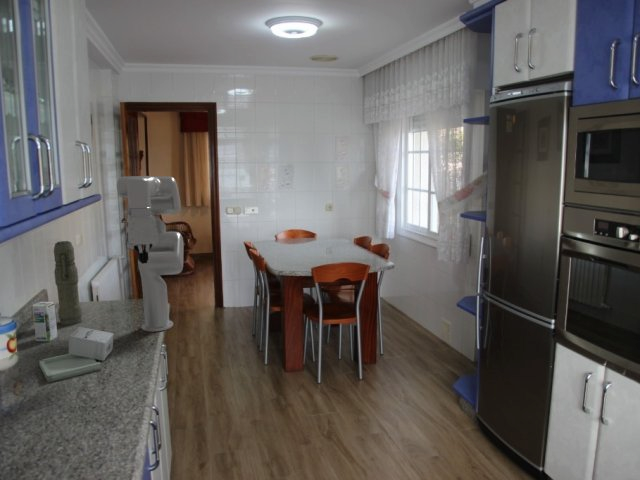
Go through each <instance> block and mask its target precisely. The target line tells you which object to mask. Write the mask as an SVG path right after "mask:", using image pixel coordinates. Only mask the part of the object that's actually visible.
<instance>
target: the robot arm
mask: <svg viewBox="0 0 640 480" xmlns="http://www.w3.org/2000/svg"><path fill="white" fill-rule="evenodd" d="M116 191H117V193H118V195H119V196H120V197H122V198H127V206H128V208H127V210H124V215H128V216H127V220H126V231H125V232H126V244H127V245H126V247H127V249H131V250H135V251H136V252H137V254H138V260H137V263H138V265H137V266H138V269H139V273H140V277H141V286H142V288H141V289H142V298H143V310H144V311H143V314H144V323H142V324H141V330H142V331H144V332H154V333H155V332H163V331H166V330H169V329H171V328H172V327H174V321H172V320H171V319H170V318H169V317H170V316H169V301H168V286H167V283H166V281H165V280H164V279H163V278H162V276H164V275H165V276H168V275H169V276H170V275H179V274H180V273H182V271H183V268H184V251H185V250H184V247H185V246H184V238H183V235H182V234H181V233H180V232H179V231H167V225H166V223H165V222H164V221H163V220H162V219H160V218H159V217H158V215H161V216H162V215H176V214H178V213H180V211H181V208H182V204H181V198H180V192H179V186H178V182H177V180H176V178H174V177H173V176H149V175H141V176H140V175H138V176H137V175H135V176H134V175H133V176H129V175H128V176H120V177H119V178H118V180H117V182H116Z"/></svg>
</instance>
